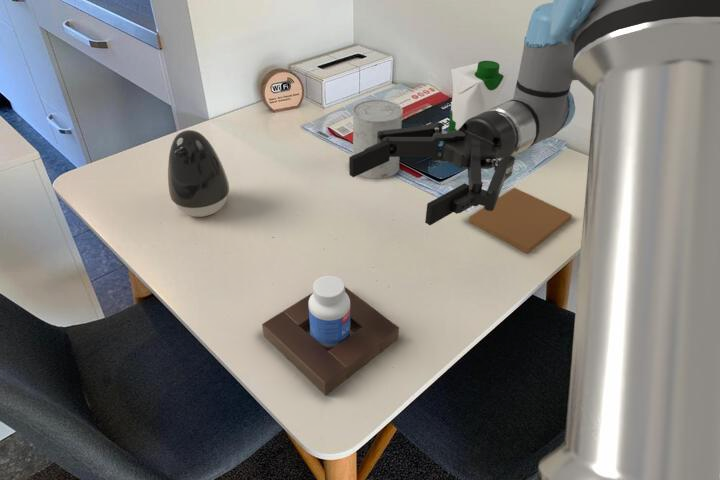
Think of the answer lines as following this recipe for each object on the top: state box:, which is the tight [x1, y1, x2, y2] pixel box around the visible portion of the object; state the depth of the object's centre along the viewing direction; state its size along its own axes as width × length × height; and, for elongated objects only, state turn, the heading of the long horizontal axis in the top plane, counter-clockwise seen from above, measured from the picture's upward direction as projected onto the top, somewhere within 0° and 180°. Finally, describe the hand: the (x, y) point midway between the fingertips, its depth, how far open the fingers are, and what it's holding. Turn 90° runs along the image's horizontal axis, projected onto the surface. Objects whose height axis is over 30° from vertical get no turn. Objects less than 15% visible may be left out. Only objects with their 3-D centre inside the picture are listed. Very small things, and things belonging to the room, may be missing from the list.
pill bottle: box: [308, 275, 351, 351], centre depth 68 cm, size 6×5×10 cm
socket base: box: [261, 286, 400, 396], centre depth 70 cm, size 13×13×2 cm
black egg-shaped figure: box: [167, 129, 230, 218], centre depth 90 cm, size 10×10×15 cm
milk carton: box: [447, 60, 509, 132], centre depth 105 cm, size 9×9×20 cm
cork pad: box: [468, 187, 573, 254], centre depth 92 cm, size 14×12×1 cm
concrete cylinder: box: [352, 99, 404, 180], centre depth 103 cm, size 10×10×12 cm
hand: (387, 189), depth 63 cm, fingers open, 13 cm apart
